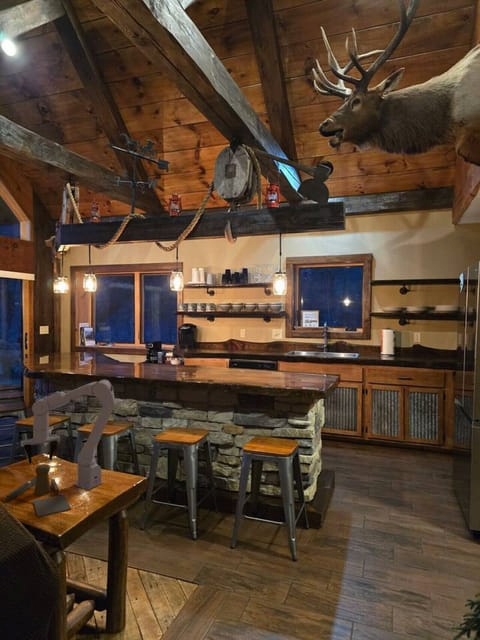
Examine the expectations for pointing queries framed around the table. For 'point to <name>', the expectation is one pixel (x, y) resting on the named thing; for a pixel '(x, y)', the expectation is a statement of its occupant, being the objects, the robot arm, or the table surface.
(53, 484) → the rail
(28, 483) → the bar
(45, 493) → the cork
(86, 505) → the table surface
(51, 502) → the mat
